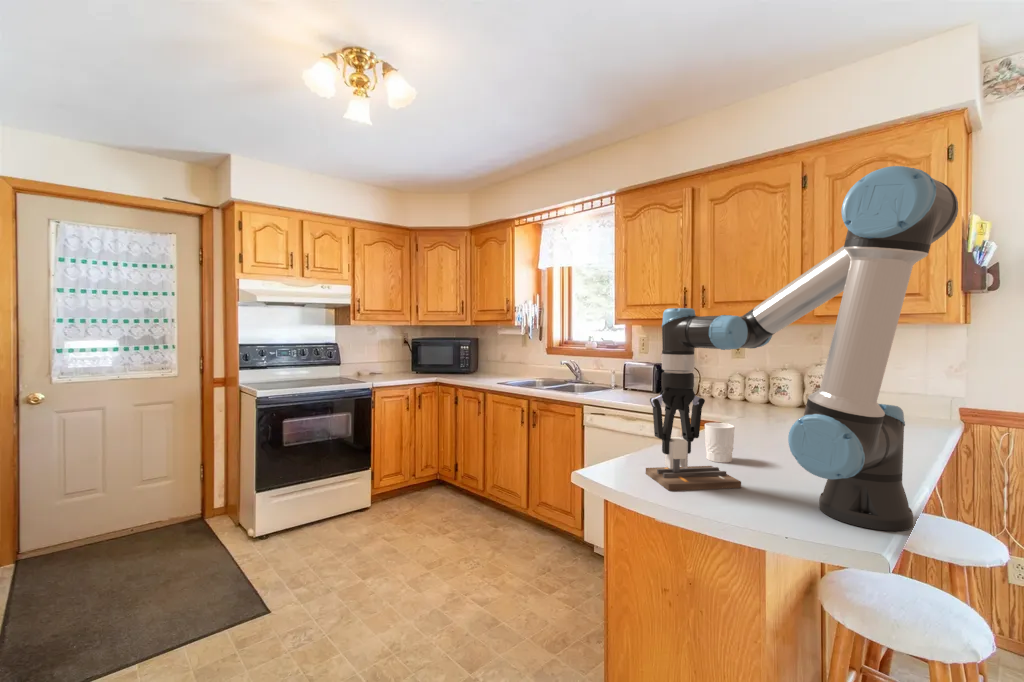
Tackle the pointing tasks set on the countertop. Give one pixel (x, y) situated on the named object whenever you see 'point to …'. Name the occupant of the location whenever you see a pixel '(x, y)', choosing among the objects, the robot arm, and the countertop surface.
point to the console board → (693, 478)
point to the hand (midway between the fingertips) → (676, 466)
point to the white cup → (719, 442)
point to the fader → (678, 452)
